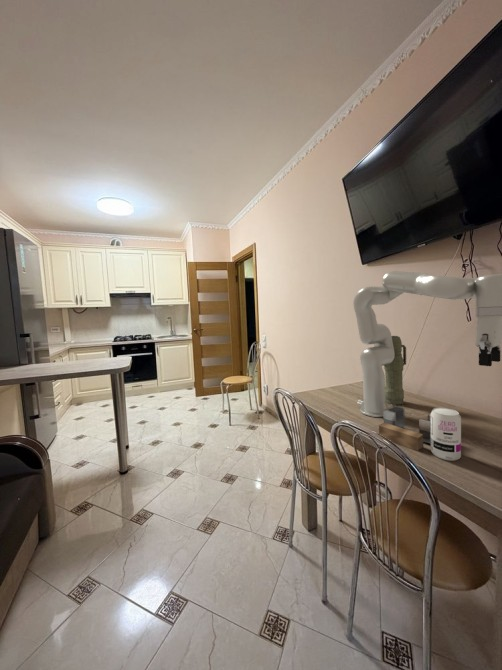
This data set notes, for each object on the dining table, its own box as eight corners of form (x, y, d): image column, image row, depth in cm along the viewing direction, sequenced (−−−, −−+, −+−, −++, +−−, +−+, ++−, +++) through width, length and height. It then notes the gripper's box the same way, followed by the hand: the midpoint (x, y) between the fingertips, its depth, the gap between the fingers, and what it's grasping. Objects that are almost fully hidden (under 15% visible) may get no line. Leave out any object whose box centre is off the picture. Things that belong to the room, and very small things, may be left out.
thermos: (378, 400, 146) (377, 336, 143) (400, 399, 146) (400, 334, 143) (386, 405, 137) (385, 337, 134) (410, 404, 137) (409, 336, 134)
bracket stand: (382, 429, 111) (382, 409, 110) (392, 424, 115) (392, 405, 114) (434, 447, 95) (434, 423, 94) (444, 440, 99) (444, 417, 99)
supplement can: (447, 448, 94) (447, 406, 93) (467, 460, 86) (467, 415, 85) (425, 449, 94) (424, 407, 92) (442, 462, 85) (442, 417, 84)
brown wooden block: (379, 437, 105) (378, 425, 104) (384, 434, 107) (384, 422, 106) (417, 451, 93) (417, 437, 93) (423, 448, 95) (423, 434, 95)
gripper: (483, 312, 97) (483, 358, 99) (467, 314, 87) (466, 366, 89) (512, 311, 91) (511, 360, 92) (497, 313, 81) (497, 369, 83)
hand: (489, 363), depth 91 cm, fingers open, 9 cm apart
